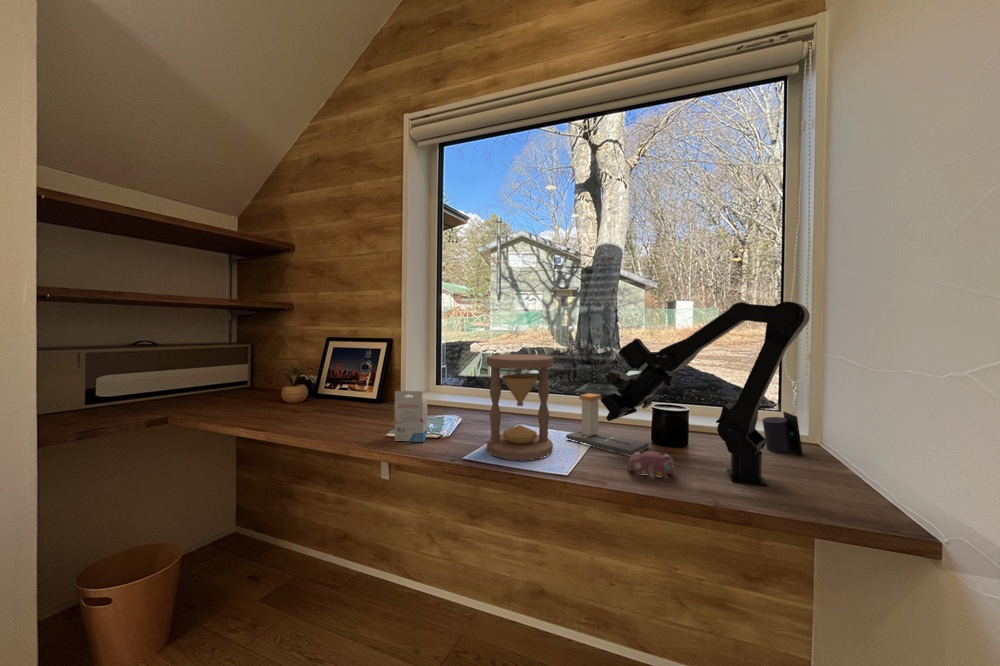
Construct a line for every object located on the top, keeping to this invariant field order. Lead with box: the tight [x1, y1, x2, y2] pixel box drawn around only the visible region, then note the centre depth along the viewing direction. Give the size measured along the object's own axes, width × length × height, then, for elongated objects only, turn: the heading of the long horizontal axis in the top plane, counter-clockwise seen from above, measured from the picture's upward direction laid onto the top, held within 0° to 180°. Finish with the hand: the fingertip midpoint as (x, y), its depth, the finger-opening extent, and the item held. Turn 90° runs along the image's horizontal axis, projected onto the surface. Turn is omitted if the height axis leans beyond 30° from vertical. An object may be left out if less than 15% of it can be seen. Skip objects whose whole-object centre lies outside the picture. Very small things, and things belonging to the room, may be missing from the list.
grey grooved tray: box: [565, 429, 650, 455], centre depth 108 cm, size 20×10×2 cm, turn 44°
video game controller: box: [627, 450, 676, 477], centre depth 85 cm, size 10×5×7 cm, turn 77°
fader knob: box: [578, 392, 602, 436], centre depth 111 cm, size 4×5×11 cm
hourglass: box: [486, 353, 554, 461], centre depth 102 cm, size 18×18×25 cm
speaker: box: [762, 411, 804, 457], centre depth 102 cm, size 8×6×10 cm
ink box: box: [393, 390, 428, 443], centre depth 111 cm, size 8×5×15 cm, turn 85°
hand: (607, 419), depth 107 cm, fingers closed
